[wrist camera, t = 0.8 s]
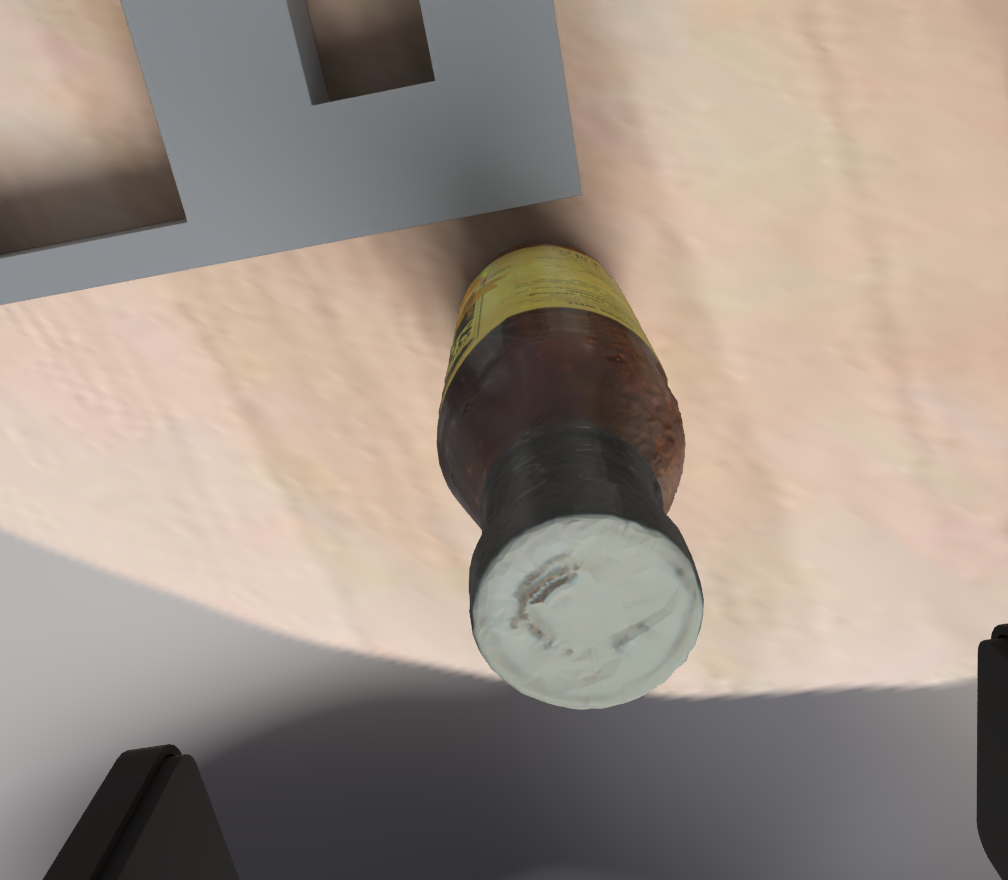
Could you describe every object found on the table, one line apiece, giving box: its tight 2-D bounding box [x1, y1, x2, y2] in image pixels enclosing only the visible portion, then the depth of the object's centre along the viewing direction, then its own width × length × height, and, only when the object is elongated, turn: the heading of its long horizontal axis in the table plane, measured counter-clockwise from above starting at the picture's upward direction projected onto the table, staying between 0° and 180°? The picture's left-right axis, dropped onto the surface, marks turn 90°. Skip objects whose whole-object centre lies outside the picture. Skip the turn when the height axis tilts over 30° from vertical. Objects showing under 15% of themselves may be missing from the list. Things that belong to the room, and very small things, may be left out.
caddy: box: [0, 0, 582, 305], centre depth 29 cm, size 23×12×3 cm, turn 101°
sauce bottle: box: [437, 244, 704, 709], centre depth 24 cm, size 7×6×20 cm
